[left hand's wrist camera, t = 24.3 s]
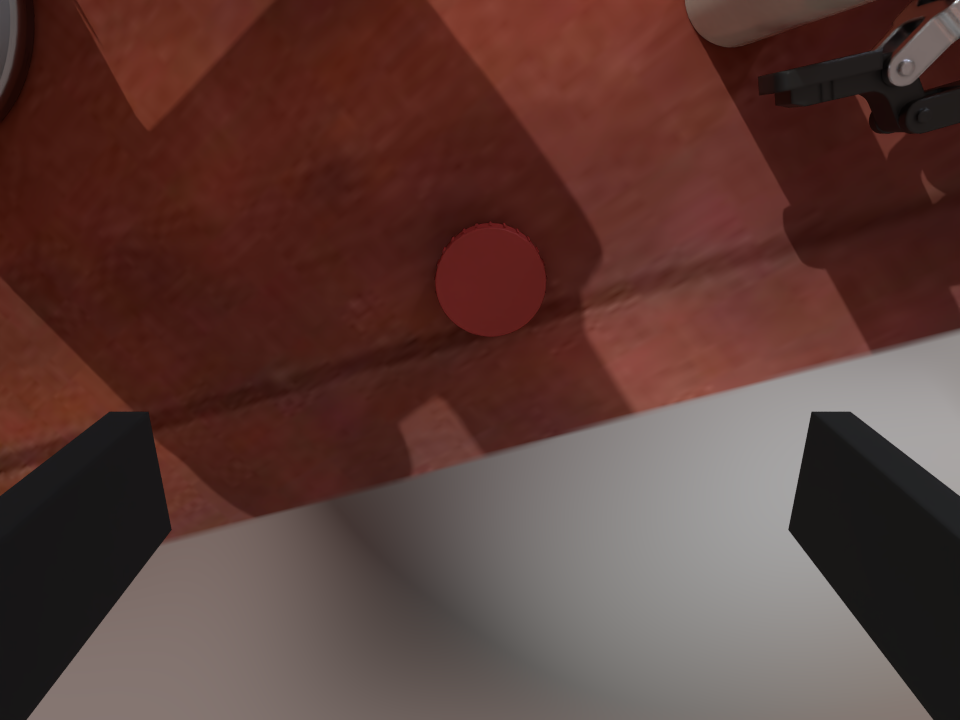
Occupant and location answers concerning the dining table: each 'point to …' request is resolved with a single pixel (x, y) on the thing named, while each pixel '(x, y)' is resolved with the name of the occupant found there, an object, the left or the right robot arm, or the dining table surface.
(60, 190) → the dining table surface
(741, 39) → the jar
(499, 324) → the lid
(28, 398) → the dining table surface
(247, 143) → the dining table surface
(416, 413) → the dining table surface
